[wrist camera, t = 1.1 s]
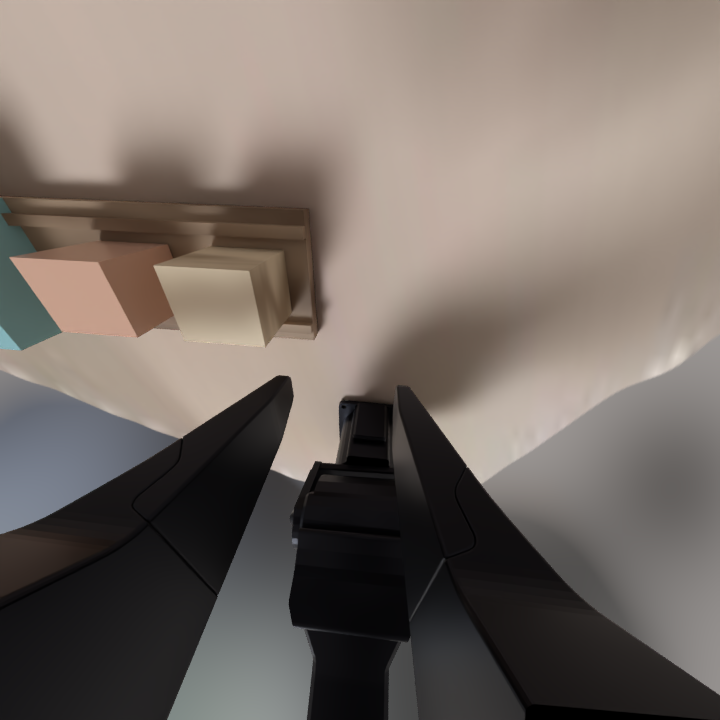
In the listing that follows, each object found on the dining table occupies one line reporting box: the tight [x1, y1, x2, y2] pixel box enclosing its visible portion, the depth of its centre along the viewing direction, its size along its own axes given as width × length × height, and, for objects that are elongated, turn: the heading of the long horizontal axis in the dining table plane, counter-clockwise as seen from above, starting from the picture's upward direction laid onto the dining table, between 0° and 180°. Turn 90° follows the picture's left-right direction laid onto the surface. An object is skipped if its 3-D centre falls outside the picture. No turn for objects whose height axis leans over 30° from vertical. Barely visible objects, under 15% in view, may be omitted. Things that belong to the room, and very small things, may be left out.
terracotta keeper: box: [9, 241, 174, 337], centre depth 17 cm, size 4×5×5 cm
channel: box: [0, 196, 318, 340], centre depth 19 cm, size 9×22×2 cm, turn 88°
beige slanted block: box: [153, 246, 292, 347], centre depth 16 cm, size 4×5×5 cm
